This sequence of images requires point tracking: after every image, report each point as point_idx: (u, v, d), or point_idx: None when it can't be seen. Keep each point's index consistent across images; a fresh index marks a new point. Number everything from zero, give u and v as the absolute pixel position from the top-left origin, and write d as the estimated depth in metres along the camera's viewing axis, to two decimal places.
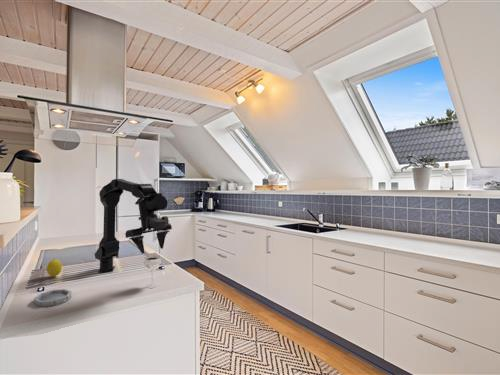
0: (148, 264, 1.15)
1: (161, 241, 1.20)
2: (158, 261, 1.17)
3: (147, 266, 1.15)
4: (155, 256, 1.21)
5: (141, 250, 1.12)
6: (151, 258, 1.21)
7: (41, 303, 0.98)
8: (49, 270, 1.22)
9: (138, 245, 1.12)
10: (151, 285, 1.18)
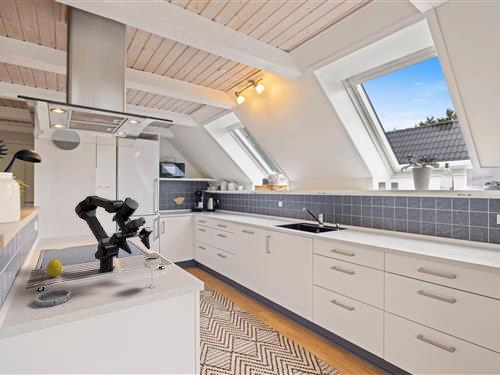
0: (148, 264, 1.15)
1: (146, 243, 1.27)
2: (158, 261, 1.17)
3: (147, 266, 1.15)
4: (155, 256, 1.21)
5: (128, 251, 1.18)
6: (151, 258, 1.21)
7: (41, 303, 0.98)
8: (49, 270, 1.22)
9: (124, 248, 1.19)
10: (151, 285, 1.18)
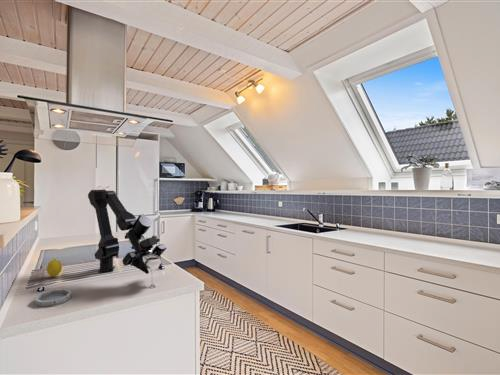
0: (148, 264, 1.15)
1: None
2: (158, 261, 1.17)
3: (147, 266, 1.15)
4: (155, 256, 1.21)
5: (145, 270, 1.15)
6: (151, 258, 1.21)
7: (41, 303, 0.98)
8: (49, 270, 1.22)
9: (141, 267, 1.15)
10: (151, 285, 1.18)
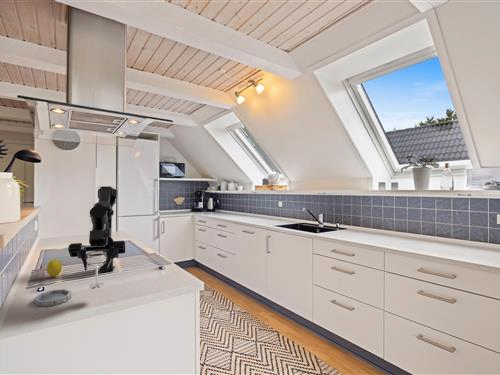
0: (86, 260, 1.01)
1: (107, 260, 1.05)
2: (97, 259, 1.00)
3: (86, 262, 1.01)
4: (105, 253, 1.05)
5: (84, 267, 1.01)
6: (102, 254, 1.06)
7: (41, 303, 0.98)
8: (49, 270, 1.22)
9: (83, 262, 1.03)
10: (93, 285, 1.03)
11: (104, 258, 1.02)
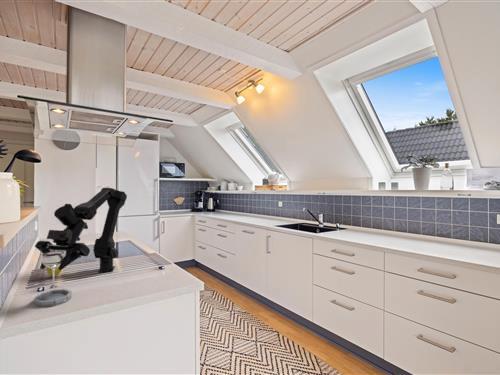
0: None
1: None
2: (47, 259, 1.00)
3: None
4: (62, 254, 1.04)
5: None
6: (63, 255, 1.05)
7: (41, 303, 0.98)
8: (49, 270, 1.22)
9: None
10: (50, 284, 1.03)
11: (56, 259, 1.01)
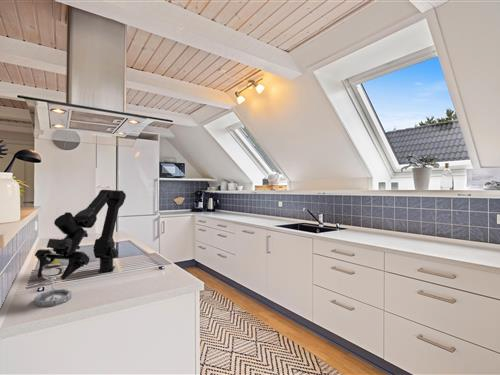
0: None
1: None
2: (47, 271, 1.00)
3: None
4: (62, 265, 1.04)
5: None
6: (62, 266, 1.06)
7: (41, 303, 0.98)
8: None
9: None
10: (50, 296, 1.03)
11: (56, 271, 1.01)
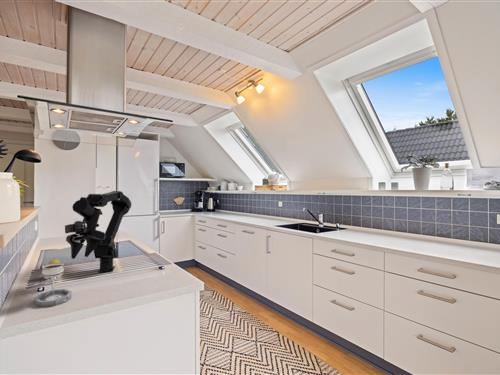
0: None
1: None
2: (47, 271, 1.00)
3: None
4: (62, 265, 1.04)
5: None
6: (62, 266, 1.06)
7: (41, 303, 0.98)
8: None
9: None
10: (50, 296, 1.03)
11: (56, 271, 1.01)
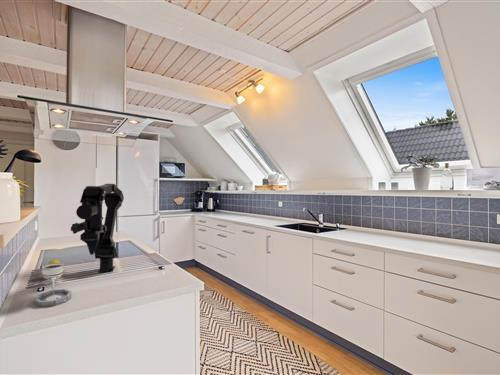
0: None
1: None
2: (47, 271, 1.00)
3: None
4: (62, 265, 1.04)
5: None
6: (62, 266, 1.06)
7: (41, 303, 0.98)
8: None
9: None
10: (50, 296, 1.03)
11: (56, 271, 1.01)
